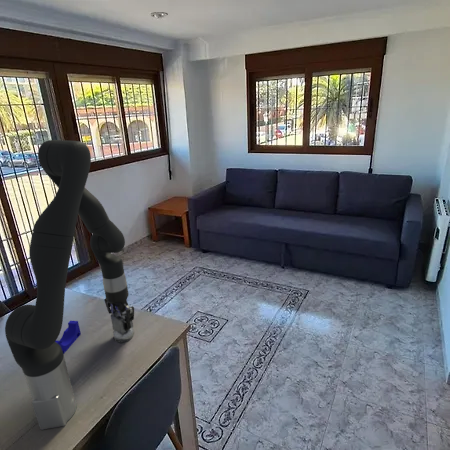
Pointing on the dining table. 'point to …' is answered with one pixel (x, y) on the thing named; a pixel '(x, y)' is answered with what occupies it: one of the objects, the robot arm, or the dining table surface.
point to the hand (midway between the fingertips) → (122, 326)
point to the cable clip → (69, 335)
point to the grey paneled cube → (118, 322)
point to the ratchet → (123, 335)
